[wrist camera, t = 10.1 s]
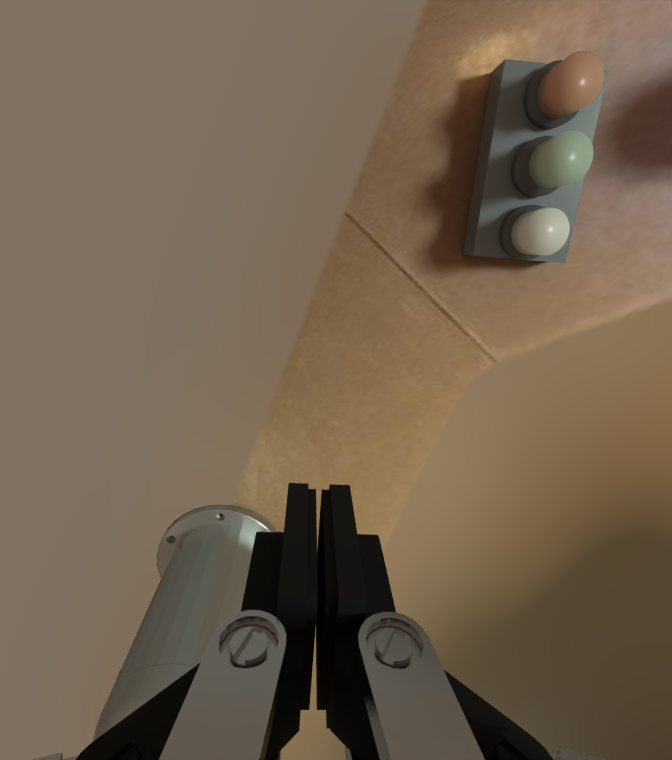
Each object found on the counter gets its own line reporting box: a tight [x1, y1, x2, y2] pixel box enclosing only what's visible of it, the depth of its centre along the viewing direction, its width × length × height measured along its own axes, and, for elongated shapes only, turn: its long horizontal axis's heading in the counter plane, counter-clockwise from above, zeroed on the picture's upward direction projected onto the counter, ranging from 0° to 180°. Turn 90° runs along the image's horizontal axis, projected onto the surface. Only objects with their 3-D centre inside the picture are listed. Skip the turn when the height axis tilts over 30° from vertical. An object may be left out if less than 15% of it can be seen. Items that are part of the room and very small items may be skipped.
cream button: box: [511, 208, 570, 255], centre depth 31 cm, size 3×3×2 cm
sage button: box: [529, 130, 593, 188], centre depth 29 cm, size 3×3×2 cm
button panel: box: [462, 59, 609, 263], centre depth 33 cm, size 13×8×3 cm, turn 176°
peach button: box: [538, 51, 604, 118], centre depth 28 cm, size 3×3×2 cm
